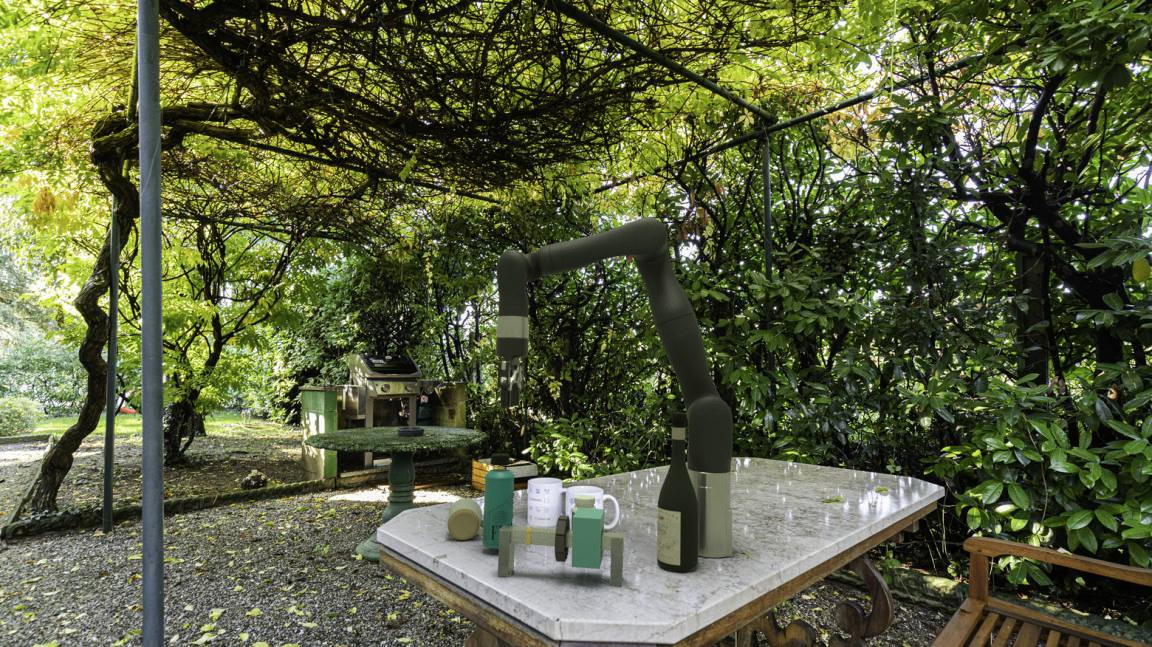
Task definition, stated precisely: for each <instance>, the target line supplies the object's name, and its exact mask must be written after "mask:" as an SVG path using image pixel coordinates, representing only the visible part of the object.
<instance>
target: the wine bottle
mask: <svg viewBox="0 0 1152 647" xmlns="http://www.w3.org/2000/svg"><path fill="white" fill-rule="evenodd" d="M670 418H671V419H670V420H671V459H670V464H669V467H668V471H667V473H666V476H665V478H664V480H663V483H662V486H661V489H660V490H659V491H660V492H659V495H658V499H657V511H656V512H657V514H656V515H657V519H656V520H657V521H656V523H657V525H656V526H657V528H656V562H657V564H658V566H660V567H662V569H665V570H668V571H671V572H678V573H679V572H689V571H692V570H694V569H696V568H697V566H698V564H699V555H698V502H697V497H696V493H695V490H694V487H693V484H692V482H691V479H690V476H689V473H688V470H687V461H686V422H687V413H685V412H671V415H670Z"/></svg>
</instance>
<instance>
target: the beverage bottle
mask: <svg viewBox="0 0 1152 647" xmlns="http://www.w3.org/2000/svg"><path fill="white" fill-rule="evenodd" d="M510 457H511V456H510V454H509V453H504V452H503V453H501V452H498V453H491V456H490V461H489V462H490V465H493V466H508V465H510V464H511V460H510V459H511V458H510ZM515 489H516V488H515V474H514V473H513V472H512V471H511V470H510V469H506V468H492V469H490V470H489V471H487V472H486V473H485V475H484V495H483V496H484V498H483V499H484V500H483V516H482V520H483V533H482V534H483V536H482V538H481V539H482V545H483V547H484V548H485V547H486V548H490V549H499V532H500V528H501V527H502V526H514V499H515Z"/></svg>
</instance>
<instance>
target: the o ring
mask: <svg viewBox="0 0 1152 647" xmlns="http://www.w3.org/2000/svg"><path fill="white" fill-rule="evenodd" d="M555 529H556V532H555V535H556V536H555V546H554V559H555V562H559V563H560V562H561V563H566V561H567V559H568V557H569V551H570V550H569V549H570V547H565V534H566V530H571V519H570V516H569V515H564V514H563V515H562V514H560V515H559V516H558V518H557V521H556V526H555Z"/></svg>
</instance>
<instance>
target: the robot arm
mask: <svg viewBox="0 0 1152 647" xmlns="http://www.w3.org/2000/svg"><path fill="white" fill-rule="evenodd" d="M669 252H670V251H669V247H668V231H667V228H666V226H665V224H664V223H663V222H662V221H660V220H659V219H658V218H655V217H651V216H646V217H640V218H638V219H636V220H633V221H630V222H628V223H626V224H622V225H620V226H618V227H617V226H616V227H615V228H612V229H609V230H605V231H603V232H600V233H599V232H598V233H595V234H592V235H589V236H584V237H580V238H576V239H571V240H570V239H569V240H565V241H560V242H556V243H552V244H547V245H544V246H541V247H539V248H538V250H536V251H533V252H529V253H525V254H524V253H522V252H521V251H518V250H517V249H508V250H506V251H504V252H502V253H501V254H500V256H499V257H498V259H497V263H496V280H497V282H496V283H497V290H498V310H497V311H498V312H497V314H498V315H497V316H498V317H497V323H496V331H495V332H496V334H495V335H496V337H495V339H496V340H495V356H496V357H497V358H503V360H499V361H498V363H497V365H498V366H497V384H496V386H497V388H498V389H499V391H500V396H499V397H500V399H499V400H500V401H499V403H500V404H499V406H500V408H502V409H509V408H511V407H519V406H520V402H521V400H520V399H521V390H522V388H523V386H524V366H525V365H524V362H520V359H522V358H524V359H525V358H528V356H529V343H530V342H529V340H530V339H529V337H530V334H529V333H530V324H529V306H530V305H529V303H530V301H529V296H528V294H527V290H526V289H527V287H526V283H531V282H533V281H536V280H539V279H542V278H545V277H547V276H551V275H558V274H563V273H568V272H572V271H577V270H580V269H582V268H586V267H589V266H591V265H593V264H596V263H598V262H602V261H605V260H608V259H612V258H617V257H624V256H625V257H627V256H628V257H630V256H631V257H632V259H633V261H634V263H635V265H636V267H637V270H638V271H639V274H640V276H641V278H642V281H643V283H644V286H645V290H646V293H647V297H648V298H647V299H648V304H649V307H650V308H649V309H650V312H651V316H652V318H653V319H652V320H653V323H654V327H655V330H656V333H657V335H658V338H659V340H660V343H661V345H662V348H663V350H664V352H665V356H666V358H667V359H668V362H669V364H670V366H671V368H672V370H673V372H674V374H675V376H676V378H677V380H678V384H679V388H680V392H681V394H682V398H683V399H682V400H683V403H684V407H685V408H684V409H685V412H686V420H687V422H688V424H687V426H688V428H687V430H688V431H687V432H688V435H687V436H688V440H687V443H688V444H687V445H688V446H687V459H686V460H687V461H686V466H687V470H688V473H689V476H690V479H691V482H692V484H693V487H694V490H695V493H696V497H697V502H698V557H704V558H724V557H725V558H726V557H733V510H732V508H731V504H732V503H731V502H732V500H731V499H732V497H731V494H732V492H731V490H732V489H731V486H732V485H731V484H732V483H731V481H732V480H731V478H732V474H731V470H732V466H731V465H732V459H733V458H732V457H733V438H734V436H733V435H734V431H733V430H734V429H733V428H734V426H733V425H734V422H733V420H734V419H733V414H732V413H733V412H732V410H731V408H730V405H728V403H727V402H726V401H724V400H723V399H722V398H721V395H720V393H719V392H718V390H717V387H716V385H715V383H714V380H713V378H712V375H711V373H710V370H709V366H708V359H707V354H706V353H707V352H706V349H705V344H704V339H703V336H702V331H701V328H700V325H699V322H698V320H697V317H696V314H695V311H694V310H693V306H692V304H691V303H690V301H689V300H690V299H688V296H687V294H686V293H685V291H684V290H683V288H682V286H681V284H680V282H679V280H678V278H677V277H676V274H675V271H674V267H673V264H672V261H671V258H670V253H669Z"/></svg>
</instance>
